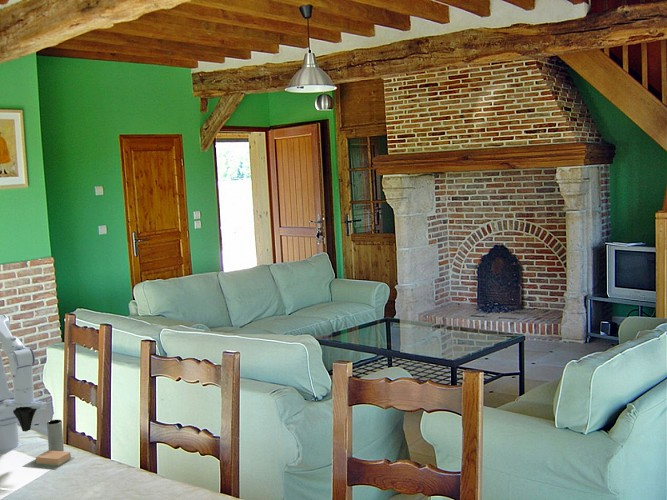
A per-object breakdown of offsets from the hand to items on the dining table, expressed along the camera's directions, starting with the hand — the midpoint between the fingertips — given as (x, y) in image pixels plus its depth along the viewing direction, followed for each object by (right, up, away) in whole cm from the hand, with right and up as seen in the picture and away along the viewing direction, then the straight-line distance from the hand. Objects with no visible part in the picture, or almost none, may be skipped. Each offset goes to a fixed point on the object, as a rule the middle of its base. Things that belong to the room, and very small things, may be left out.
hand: (26, 430), depth 231 cm
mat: (+7, -10, -1) cm, 13 cm away
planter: (+6, -9, +8) cm, 14 cm away
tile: (+5, -8, 0) cm, 10 cm away
